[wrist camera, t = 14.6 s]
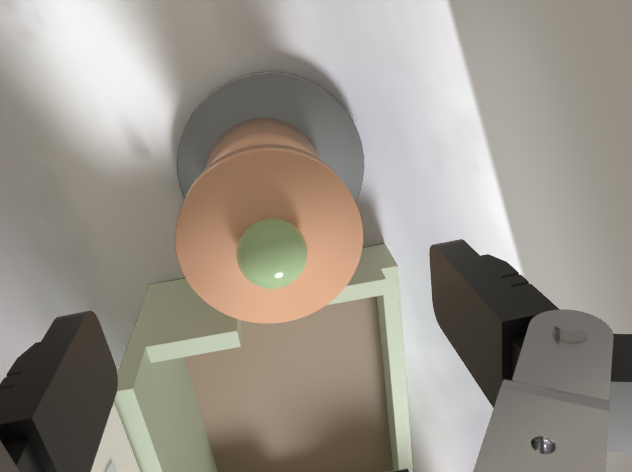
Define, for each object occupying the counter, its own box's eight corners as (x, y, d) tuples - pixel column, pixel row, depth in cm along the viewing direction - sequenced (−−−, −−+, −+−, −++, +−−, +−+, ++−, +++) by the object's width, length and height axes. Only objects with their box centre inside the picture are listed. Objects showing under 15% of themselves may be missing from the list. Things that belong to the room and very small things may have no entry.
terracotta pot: (182, 120, 22) (141, 188, 14) (321, 98, 22) (366, 152, 14) (212, 246, 24) (193, 371, 16) (337, 225, 25) (383, 336, 16)
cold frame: (217, 505, 32) (207, 649, 25) (149, 284, 26) (110, 392, 18) (403, 468, 33) (447, 598, 26) (384, 244, 26) (436, 332, 19)
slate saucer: (202, 260, 26) (200, 268, 25) (158, 87, 22) (155, 90, 21) (368, 232, 26) (371, 238, 25) (351, 58, 23) (354, 60, 22)
